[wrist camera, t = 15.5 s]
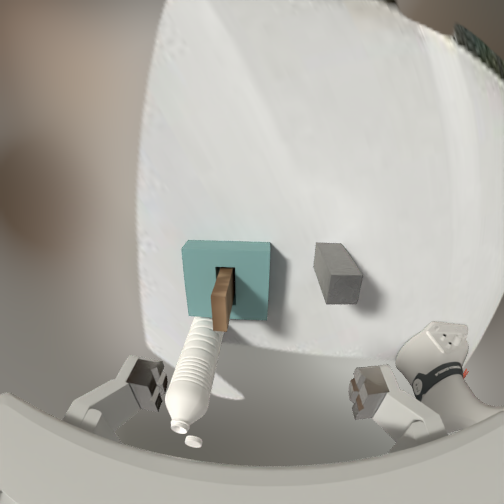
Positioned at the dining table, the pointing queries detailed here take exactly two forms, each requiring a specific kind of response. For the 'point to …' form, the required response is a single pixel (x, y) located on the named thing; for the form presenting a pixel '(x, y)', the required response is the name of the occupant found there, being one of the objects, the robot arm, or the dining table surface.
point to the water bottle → (194, 377)
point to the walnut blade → (223, 298)
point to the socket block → (246, 276)
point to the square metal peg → (337, 274)
